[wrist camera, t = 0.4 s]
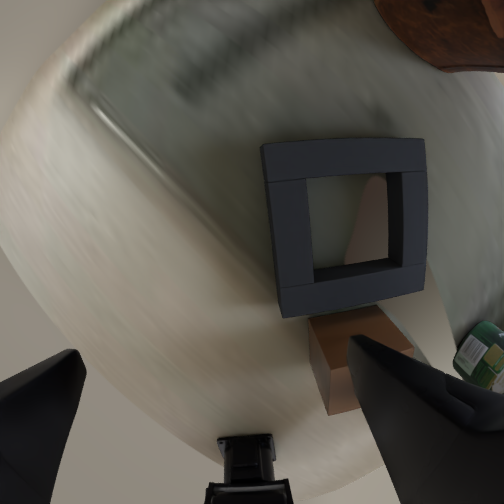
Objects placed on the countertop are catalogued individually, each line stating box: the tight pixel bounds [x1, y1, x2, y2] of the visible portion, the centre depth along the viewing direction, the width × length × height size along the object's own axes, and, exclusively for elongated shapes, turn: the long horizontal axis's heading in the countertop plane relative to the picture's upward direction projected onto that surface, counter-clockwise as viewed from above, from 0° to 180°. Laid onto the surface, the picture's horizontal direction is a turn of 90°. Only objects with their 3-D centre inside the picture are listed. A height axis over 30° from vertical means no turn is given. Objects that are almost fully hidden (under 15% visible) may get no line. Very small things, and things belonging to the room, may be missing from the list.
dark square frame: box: [260, 138, 428, 318], centre depth 20 cm, size 12×12×2 cm
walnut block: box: [308, 305, 414, 416], centre depth 21 cm, size 5×6×8 cm
